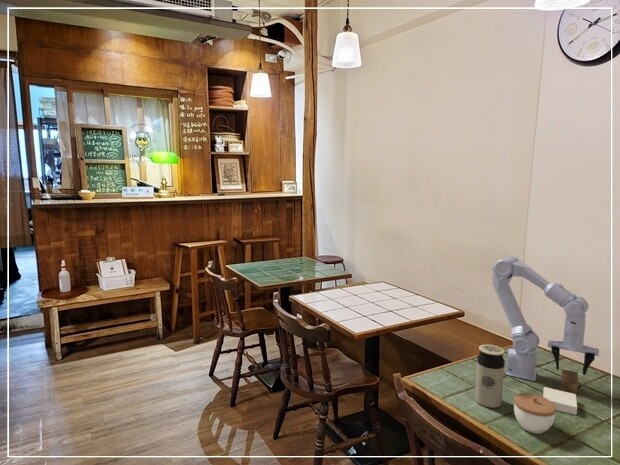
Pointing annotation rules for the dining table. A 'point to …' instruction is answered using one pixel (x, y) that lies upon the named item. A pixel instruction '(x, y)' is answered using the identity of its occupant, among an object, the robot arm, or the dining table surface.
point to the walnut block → (569, 381)
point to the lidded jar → (534, 412)
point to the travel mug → (489, 376)
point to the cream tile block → (561, 400)
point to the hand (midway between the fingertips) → (570, 371)
